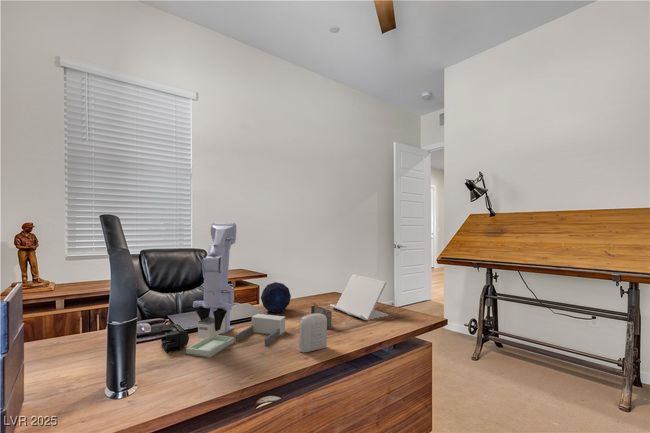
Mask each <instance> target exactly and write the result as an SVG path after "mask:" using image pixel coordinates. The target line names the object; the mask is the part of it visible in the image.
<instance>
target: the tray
mask: <svg viewBox="0 0 650 433" xmlns="http://www.w3.org/2000/svg"><path fill="white" fill-rule="evenodd" d="M234 343H235V337H234V336H227V335H222V334H218V335H217V336H215V337H213V338H211V339H202V338H201V340H199V341H196V342H195V343H193V344H192V345H189V346H188V347H186V348H185V350H186V351H185V355H190V356H196V357H202V358H208V359H211V358H212V357H214V356H216V355H217V354H219V353H221V352H222V351H224V350H225V349H227V348H228V347H230V346H231V345H233V344H234Z"/></svg>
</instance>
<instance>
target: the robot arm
mask: <svg viewBox="0 0 650 433" xmlns="http://www.w3.org/2000/svg"><path fill="white" fill-rule="evenodd" d="M210 236H211V239H212V241H213V243H211V244H210V245H209V247H208V251H207V254H206V256H205V257H203V258H202V261H201V262H202V263H201V264H202V265H201V268H202V277H203V300H195V301H193V302H192V307H193V308H197V309H196V311H195V312H196V314H197V315H198V317H199V319H200V320H199V321H201V320H203V319H205V318H208V317H210V316H212V315H214V318H215V331H218V330H220V329H221V324H222V321H223V318H224V316H225V331H224V332H222V333H220V334H219V335H224V334H226V333H227V332H230V331H231V330H233V329H234V328H235V327H234V326H230V325H231V324H230V323H231V311H232V310H233V307H234V303H235V290H234V287H233V286H231V285H230V284H229V283H228V282H229V268H230V267H229V266H230V250H231V247H232V245H234V244H236V240H237V224H236V223H235V222H212V223H211V225H210Z"/></svg>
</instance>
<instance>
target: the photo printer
mask: <svg viewBox="0 0 650 433" xmlns="http://www.w3.org/2000/svg"><path fill="white" fill-rule="evenodd" d="M327 330H328V329H327V318H326V316H325V315H323V314H319V313H315V314H311V313H310V314H307V315H304V316H302V317H301V318H300V319H299V332H298V333H299V338H298V342H299V343H298V348H299V352H301V353H310V352H312V351H314V352H315V351H318V350H323V349H326V348H327V339H328V338H327V336H328V335H327V333H328V331H327Z"/></svg>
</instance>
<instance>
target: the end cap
mask: <svg viewBox="0 0 650 433" xmlns="http://www.w3.org/2000/svg"><path fill="white" fill-rule="evenodd" d="M172 324H173V327H167V328H162V329H161V333H165V334H164V335H162V336H161V337H160V338H161V339H160V341H161V344H160V346H161V347H162V348H163V349H164V351H165V353H166V354H169V353H174V352H179V351H181V350H182V349H184V348H185V347H186V346H187V345H188V343H189V340H190V337H189V336H190V335H189V333H187V331H186V330H185V331H184V329H183V328H182V327H181V326H180V325H178V324H174V323H172Z"/></svg>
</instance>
